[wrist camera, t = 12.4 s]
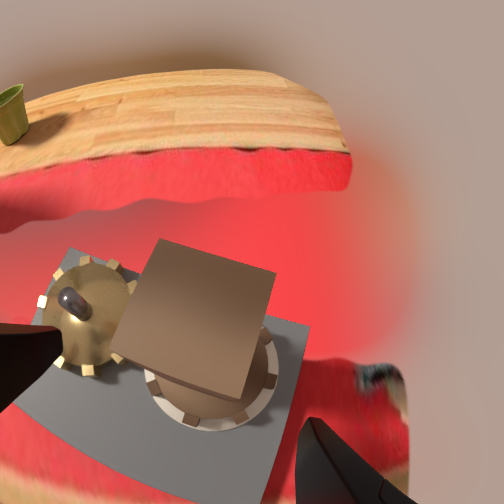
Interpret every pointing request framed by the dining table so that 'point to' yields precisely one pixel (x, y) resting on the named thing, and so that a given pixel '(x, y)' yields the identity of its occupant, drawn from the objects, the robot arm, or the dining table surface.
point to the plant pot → (12, 115)
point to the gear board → (169, 420)
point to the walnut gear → (199, 331)
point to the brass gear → (87, 313)
